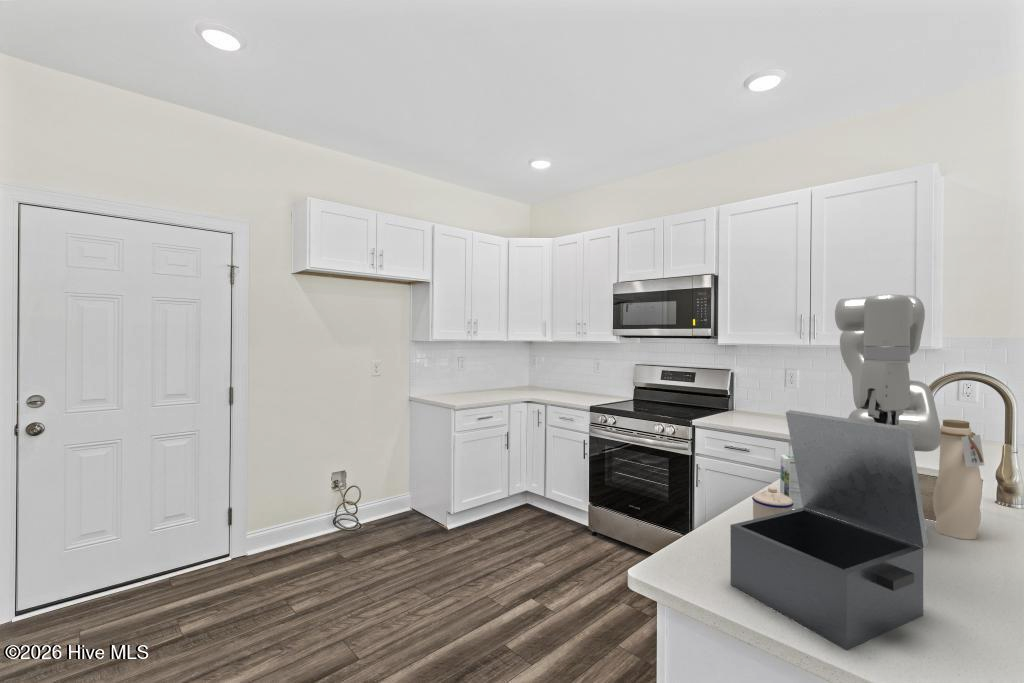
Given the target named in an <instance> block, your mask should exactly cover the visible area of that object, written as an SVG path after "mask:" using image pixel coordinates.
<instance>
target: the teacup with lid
mask: <svg viewBox="0 0 1024 683" xmlns="http://www.w3.org/2000/svg"><path fill="white" fill-rule="evenodd" d="M751 499H752V504H753V505H752V510H753V511H752V512H753V513H752V520H753V519H757V518H761V517H765V516H770V515H774V514H778V513H782V512H786V511H791V510H792V506H793V504H794V503H793V501H792V499H791V498H789V497H788V496H785V495H783V494H781V493H780V491H778V489H777V488H776V487H774V486H769V487H768V488H767V490H763V491H760V492H759V491H758V492H755V493H753V495H752V497H751Z"/></svg>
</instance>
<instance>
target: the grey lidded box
mask: <svg viewBox="0 0 1024 683" xmlns="http://www.w3.org/2000/svg"><path fill="white" fill-rule="evenodd" d="M729 527H730V585H731V586H732V587H734V588H735V589H738V590H739V591H740V592H741V591H742V592H743V593H745V594H747V595H748V596H750V597H752V599H755V600H758V601H759V602H761V603H763V604H764V605H766V606H768V607H770V608H772V609H773V610H775V611H776V612H778V613H779V614H782V615H784V616H786V617H787V618H789V619H790V620H793V621H794V622H796V623H798V624H800V625H802V626H803V627H805V628H807V629H809V630H810V631H812V632H814V633H816V634H817V635H819V636H820V637H823V638H825V639H826V640H828V641H830V642H831V643H833V644H834V645H837V646H839V647H841V648H842V649H844V650H846V651H848V650H850V649H851V648H855V647H857V646H858V645H860V644H864V643H865V642H868V641H870V640H872V639H875V638H877V637H878V636H881V635H883V634H885V633H887V632H889V631H893V630H894V629H896V628H898V627H901V626H903V625H906V624H908V623H909V621H910V622H911V621H914V620H916V619H919V618H921V617H923V616H924V548H923V547H920V546H917V545H914V544H911V543H907V542H904V541H901V540H898V539H895V538H892V537H889V536H886V535H883V534H880V533H877V532H874V531H871V530H868V529H865V528H862V527H859V526H856V525H853V524H850V523H848V522H845V521H842V520H839V519H836V518H833V517H830V516H827V515H824V514H821V513H818V512H815V511H812V510H809V509H805V508H799V509H795V510H791V511H786V512H782V513H778V514H774V515H770V516H765V517H761V518H757V519H753V518H752V519H749V520H745V521H740V522H738V523H737V522H736V523H732V524H730V526H729Z"/></svg>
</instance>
